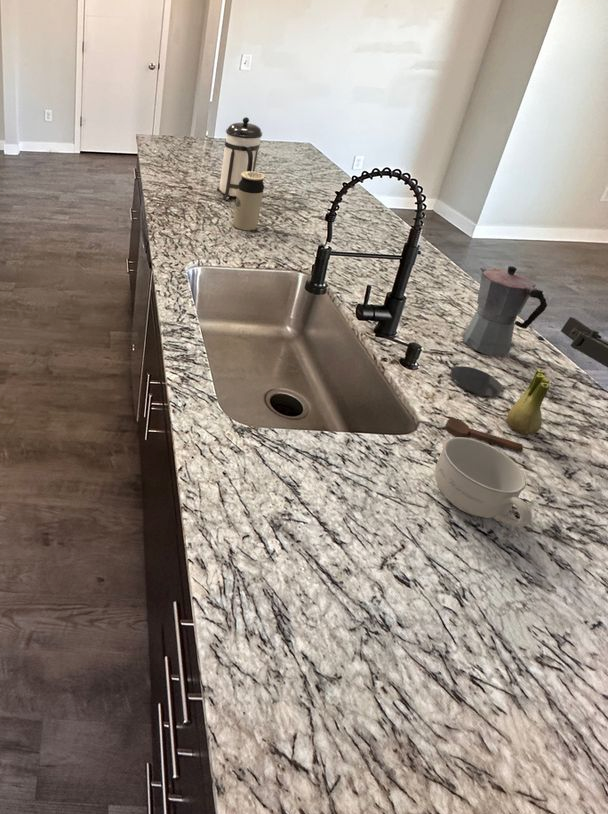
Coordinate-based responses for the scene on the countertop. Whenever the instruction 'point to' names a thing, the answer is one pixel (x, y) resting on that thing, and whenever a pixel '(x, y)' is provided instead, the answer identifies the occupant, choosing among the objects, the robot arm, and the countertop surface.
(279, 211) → the countertop surface
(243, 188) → the travel mug
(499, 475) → the teacup
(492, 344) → the moka pot
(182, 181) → the countertop surface
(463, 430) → the wooden spoon
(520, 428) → the fennel bulb
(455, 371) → the slate coaster
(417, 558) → the countertop surface
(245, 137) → the coffee press
